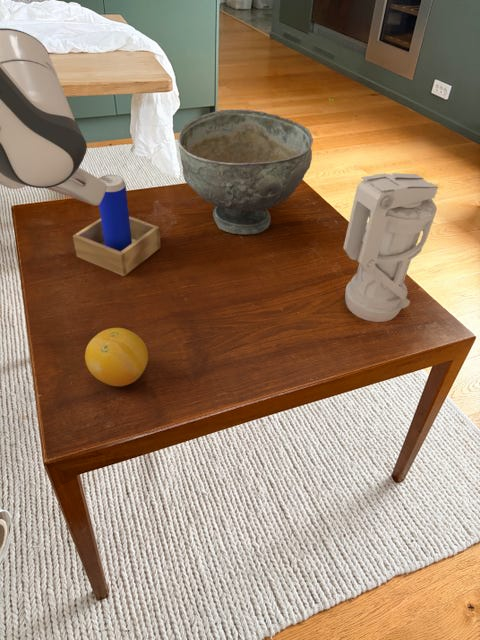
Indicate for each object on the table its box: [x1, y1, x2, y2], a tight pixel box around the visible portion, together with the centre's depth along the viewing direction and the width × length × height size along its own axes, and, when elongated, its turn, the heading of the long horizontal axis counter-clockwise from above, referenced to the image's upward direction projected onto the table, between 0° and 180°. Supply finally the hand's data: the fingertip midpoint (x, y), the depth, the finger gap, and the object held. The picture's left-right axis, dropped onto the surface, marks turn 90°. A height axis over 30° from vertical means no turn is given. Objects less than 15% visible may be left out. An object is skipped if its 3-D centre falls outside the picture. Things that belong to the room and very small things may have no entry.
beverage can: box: [97, 174, 132, 252], centre depth 93 cm, size 5×5×15 cm
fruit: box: [84, 327, 149, 387], centre depth 72 cm, size 9×8×8 cm
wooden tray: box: [72, 215, 162, 277], centre depth 97 cm, size 12×12×5 cm
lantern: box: [343, 172, 439, 323], centre depth 81 cm, size 13×10×25 cm
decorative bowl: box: [177, 108, 314, 235], centre depth 104 cm, size 26×26×20 cm
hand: (75, 191), depth 81 cm, fingers open, 8 cm apart
